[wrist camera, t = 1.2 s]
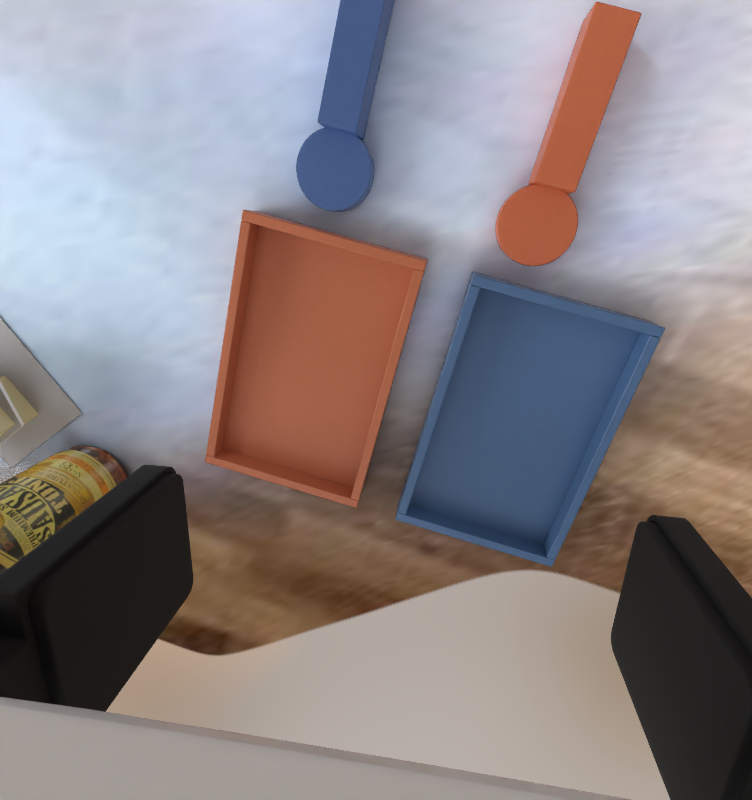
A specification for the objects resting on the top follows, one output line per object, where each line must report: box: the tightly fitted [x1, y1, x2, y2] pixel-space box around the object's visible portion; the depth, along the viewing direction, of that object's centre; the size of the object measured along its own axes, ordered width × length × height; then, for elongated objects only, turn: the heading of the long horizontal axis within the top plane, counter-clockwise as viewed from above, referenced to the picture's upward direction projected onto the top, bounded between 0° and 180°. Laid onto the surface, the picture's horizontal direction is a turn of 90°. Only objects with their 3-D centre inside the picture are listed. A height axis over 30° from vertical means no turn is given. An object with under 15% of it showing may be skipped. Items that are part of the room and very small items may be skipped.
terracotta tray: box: [205, 210, 428, 507], centre depth 33 cm, size 17×11×2 cm, turn 165°
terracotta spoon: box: [495, 2, 641, 266], centre depth 26 cm, size 12×4×2 cm, turn 165°
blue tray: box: [395, 272, 665, 567], centre depth 32 cm, size 17×11×2 cm, turn 165°
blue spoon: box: [296, 0, 394, 212], centre depth 27 cm, size 12×4×2 cm, turn 165°
